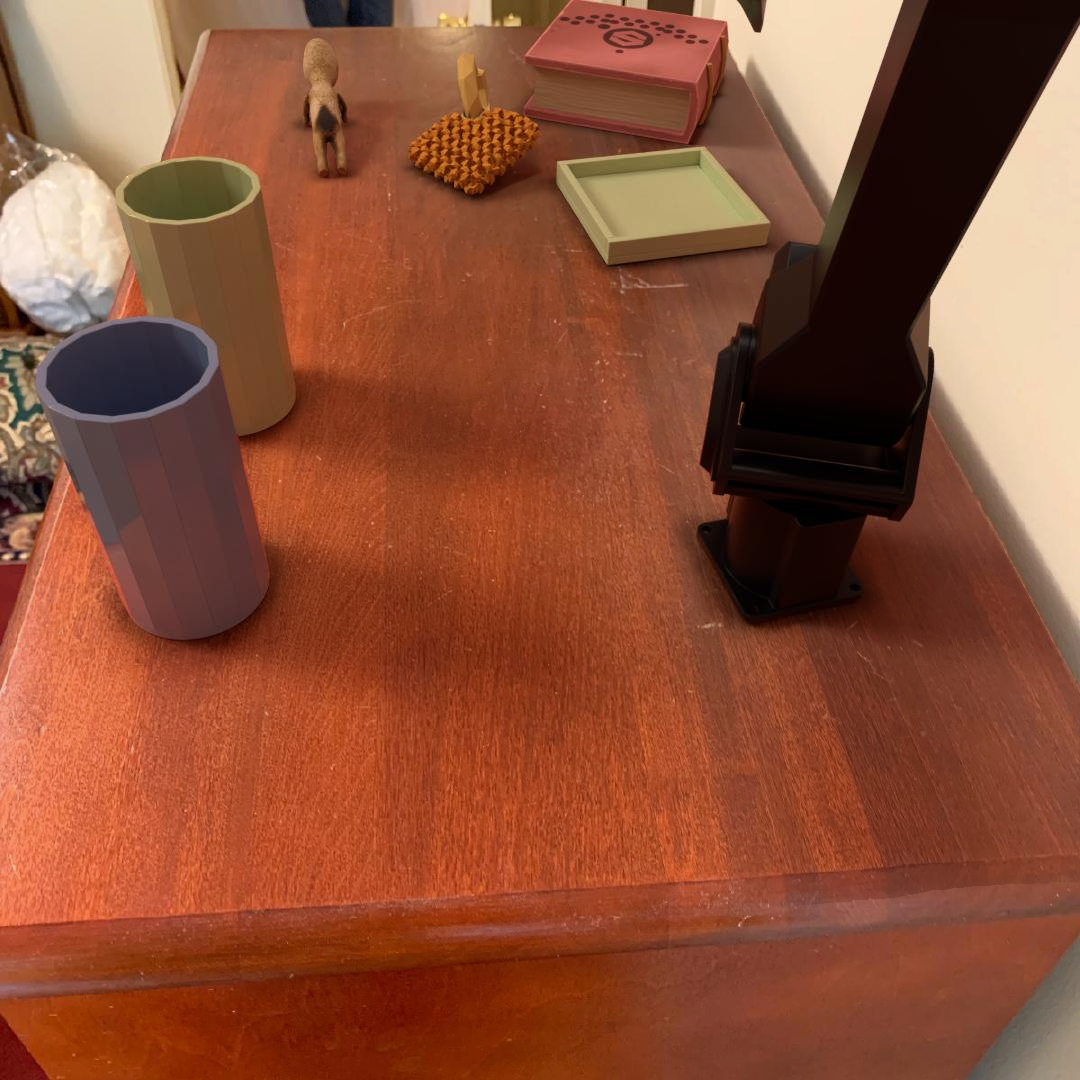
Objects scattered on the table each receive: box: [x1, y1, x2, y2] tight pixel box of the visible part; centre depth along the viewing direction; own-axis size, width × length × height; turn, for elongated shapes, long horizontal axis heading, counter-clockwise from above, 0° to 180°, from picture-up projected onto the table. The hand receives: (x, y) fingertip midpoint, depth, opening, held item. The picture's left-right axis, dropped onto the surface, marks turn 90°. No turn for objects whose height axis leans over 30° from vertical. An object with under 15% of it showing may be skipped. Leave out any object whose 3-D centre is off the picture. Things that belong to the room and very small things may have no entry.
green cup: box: [115, 155, 297, 437], centre depth 54 cm, size 7×7×13 cm
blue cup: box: [34, 315, 271, 641], centre depth 44 cm, size 7×7×13 cm
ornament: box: [407, 52, 542, 195], centre depth 79 cm, size 7×10×15 cm
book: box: [522, 0, 730, 145], centre depth 88 cm, size 14×15×5 cm
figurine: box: [301, 37, 349, 177], centre depth 81 cm, size 4×4×15 cm
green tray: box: [555, 146, 772, 266], centre depth 75 cm, size 12×12×2 cm
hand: (834, 33), depth 61 cm, fingers open, 9 cm apart
